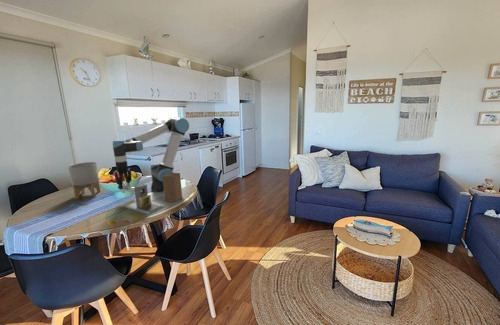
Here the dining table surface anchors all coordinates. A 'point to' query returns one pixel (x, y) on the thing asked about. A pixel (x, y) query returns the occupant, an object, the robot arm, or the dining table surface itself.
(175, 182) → the wooden block
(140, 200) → the spacer
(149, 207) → the jig
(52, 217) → the dining table surface
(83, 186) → the planter
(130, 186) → the shaft
